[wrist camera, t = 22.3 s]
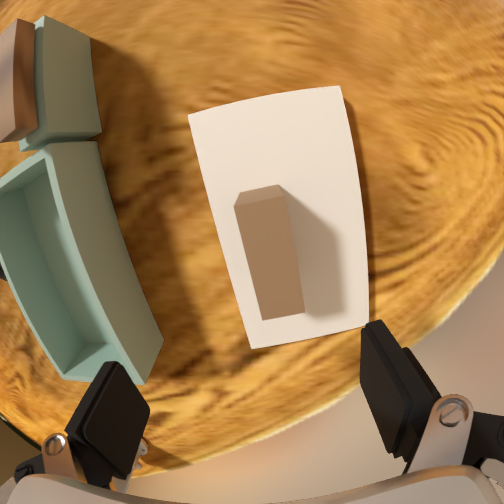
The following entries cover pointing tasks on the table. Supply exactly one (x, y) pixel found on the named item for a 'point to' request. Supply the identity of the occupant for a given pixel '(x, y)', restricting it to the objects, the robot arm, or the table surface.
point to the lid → (287, 212)
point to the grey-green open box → (71, 226)
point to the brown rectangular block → (17, 82)
